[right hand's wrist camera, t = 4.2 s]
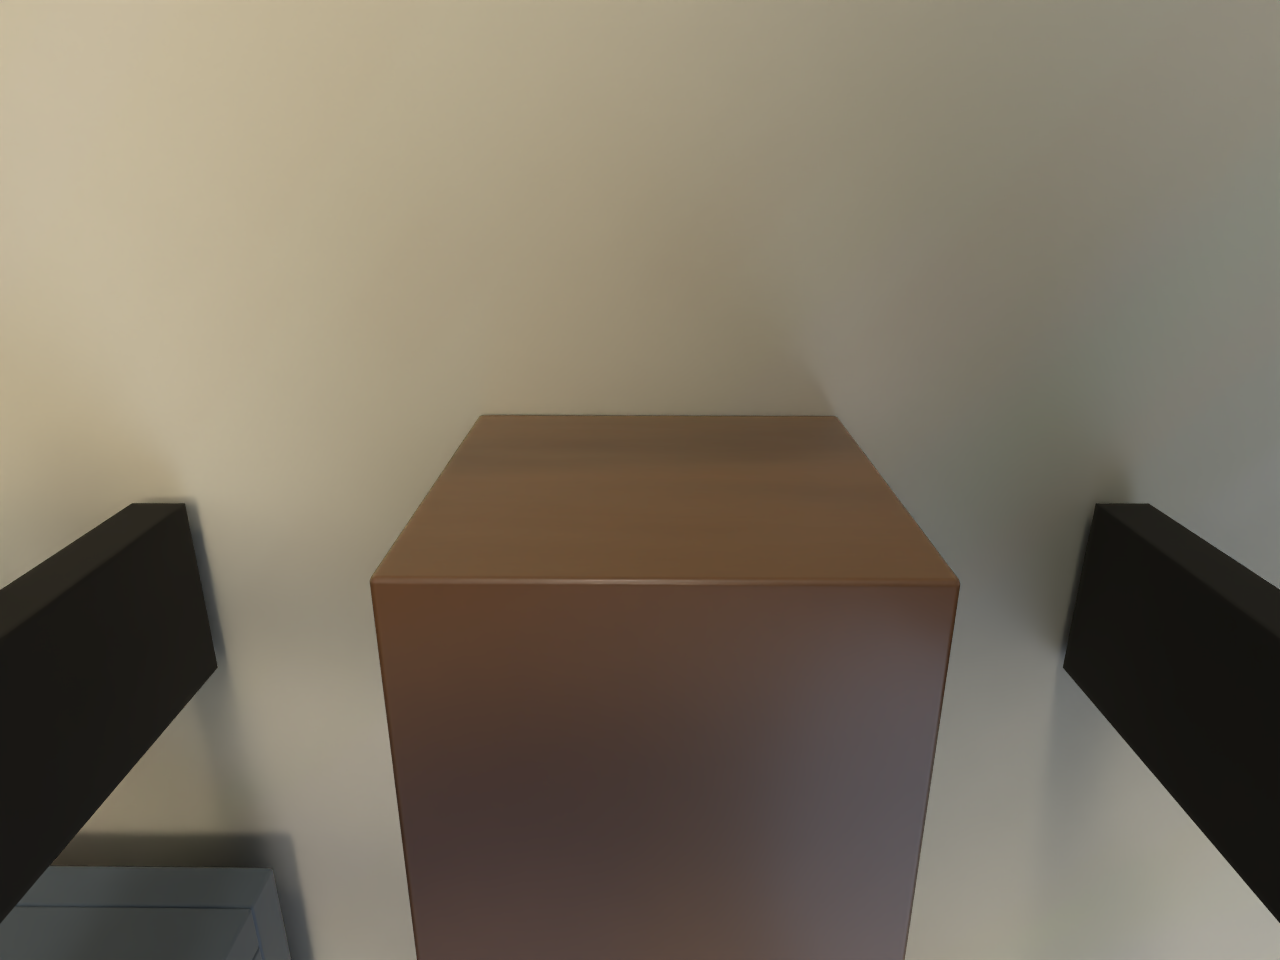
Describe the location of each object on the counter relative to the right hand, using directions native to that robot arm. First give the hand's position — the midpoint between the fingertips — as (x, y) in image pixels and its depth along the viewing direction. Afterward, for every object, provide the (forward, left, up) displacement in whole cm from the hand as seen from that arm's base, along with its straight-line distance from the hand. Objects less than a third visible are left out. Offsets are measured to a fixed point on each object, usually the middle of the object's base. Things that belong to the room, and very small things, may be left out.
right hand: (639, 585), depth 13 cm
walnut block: (0, 0, 0) cm, 0 cm away
